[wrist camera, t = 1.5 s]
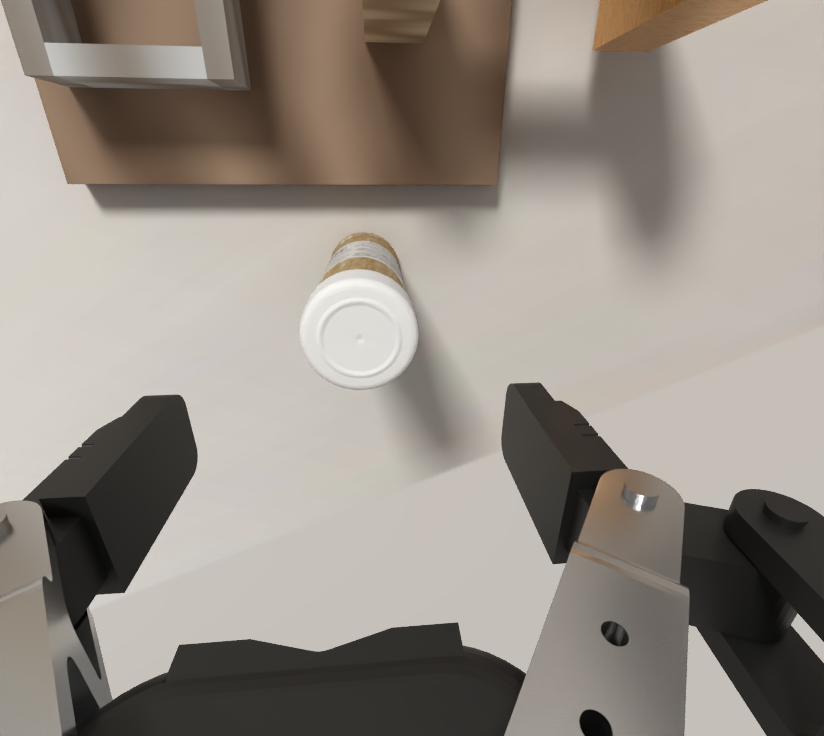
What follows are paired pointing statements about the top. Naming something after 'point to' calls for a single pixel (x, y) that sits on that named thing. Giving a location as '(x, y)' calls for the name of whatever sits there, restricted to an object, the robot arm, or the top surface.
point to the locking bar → (657, 21)
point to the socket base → (269, 89)
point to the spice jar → (360, 317)
